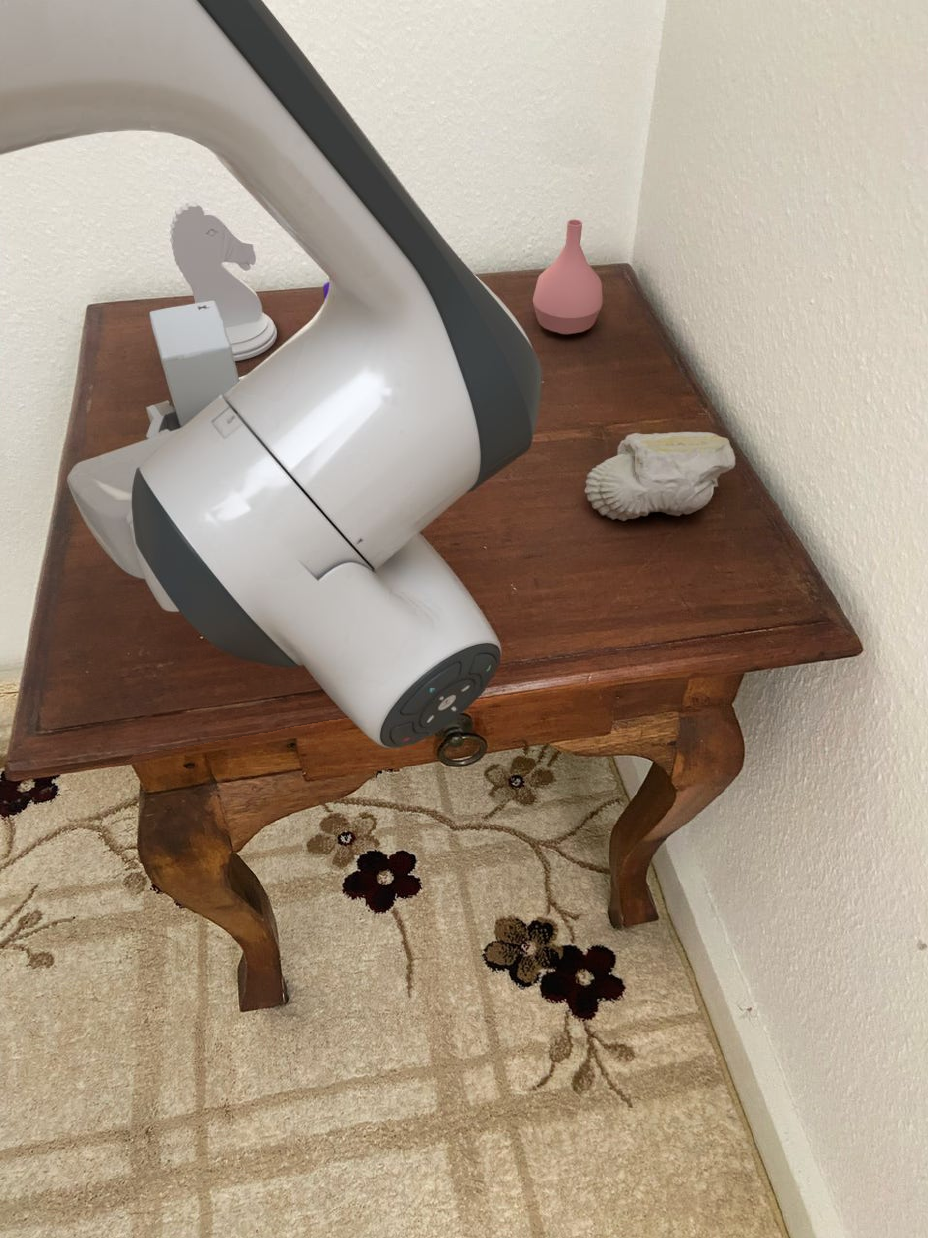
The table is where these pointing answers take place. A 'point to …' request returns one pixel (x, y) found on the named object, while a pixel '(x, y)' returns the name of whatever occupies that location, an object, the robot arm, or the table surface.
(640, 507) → the fossil replica
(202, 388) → the cosmetic box
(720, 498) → the table surface
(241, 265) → the chess piece
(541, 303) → the pink vase
